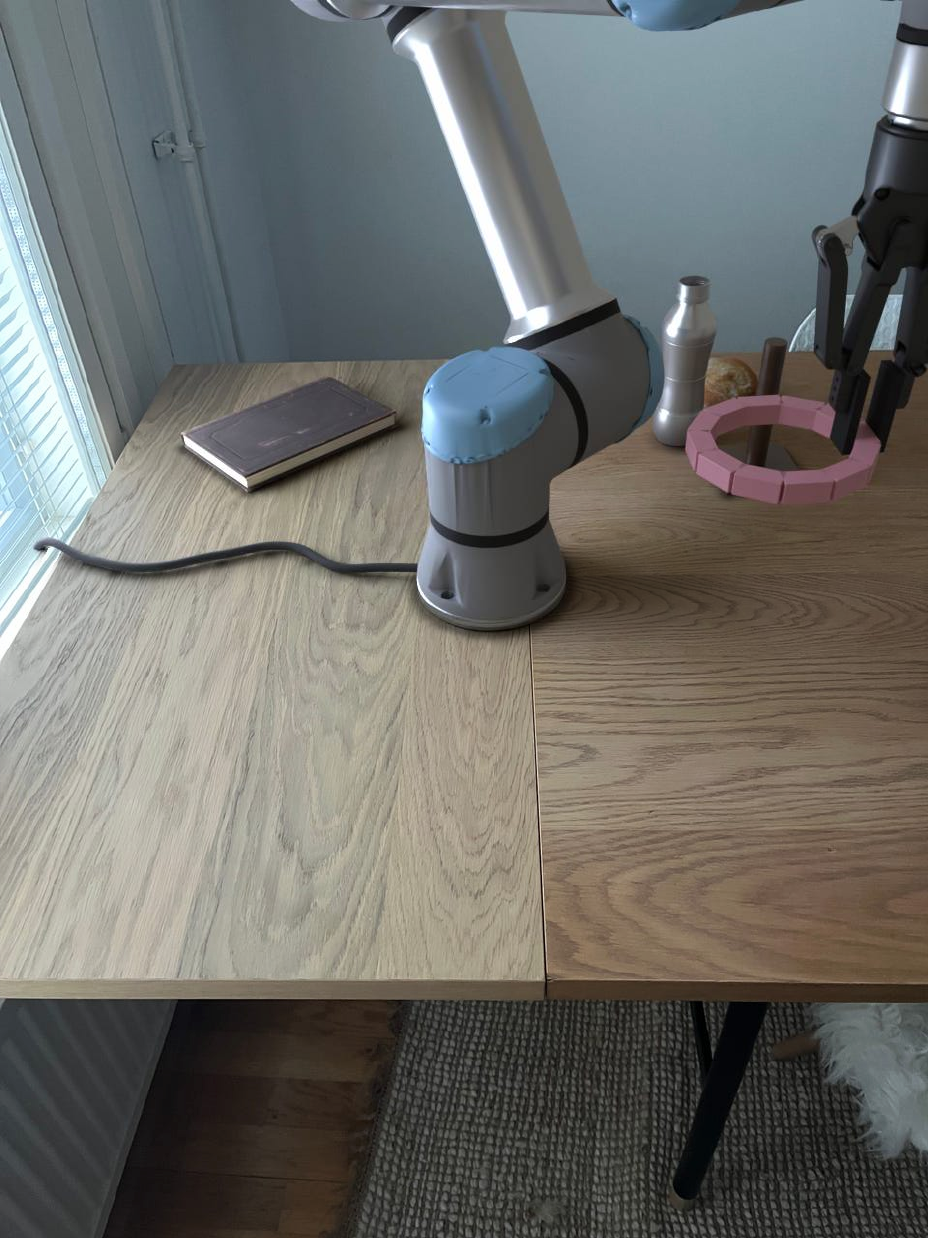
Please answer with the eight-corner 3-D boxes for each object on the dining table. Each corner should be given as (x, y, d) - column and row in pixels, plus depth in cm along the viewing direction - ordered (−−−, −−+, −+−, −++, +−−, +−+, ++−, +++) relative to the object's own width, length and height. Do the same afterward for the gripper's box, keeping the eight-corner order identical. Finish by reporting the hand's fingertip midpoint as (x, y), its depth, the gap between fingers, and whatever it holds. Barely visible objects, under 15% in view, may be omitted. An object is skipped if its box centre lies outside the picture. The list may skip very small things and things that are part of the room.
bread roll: (674, 416, 131) (658, 373, 126) (733, 372, 131) (719, 327, 126) (718, 447, 124) (702, 403, 119) (780, 401, 124) (768, 354, 119)
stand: (726, 494, 109) (747, 362, 99) (705, 455, 116) (723, 327, 106) (803, 489, 109) (832, 356, 99) (778, 450, 116) (802, 322, 106)
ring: (709, 509, 70) (712, 488, 69) (672, 419, 81) (674, 400, 80) (901, 498, 70) (908, 477, 69) (838, 410, 81) (842, 390, 80)
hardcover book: (397, 426, 125) (396, 410, 124) (247, 492, 114) (244, 476, 112) (328, 388, 135) (325, 373, 133) (183, 446, 123) (179, 430, 122)
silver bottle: (642, 446, 118) (657, 287, 106) (660, 422, 123) (676, 267, 110) (693, 456, 116) (714, 295, 103) (709, 432, 120) (731, 274, 108)
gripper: (846, 137, 57) (778, 476, 72) (1090, 124, 57) (971, 463, 72) (804, 109, 63) (749, 428, 78) (1026, 97, 63) (928, 417, 78)
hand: (856, 444), depth 75 cm, fingers closed on ring, 2 cm apart
